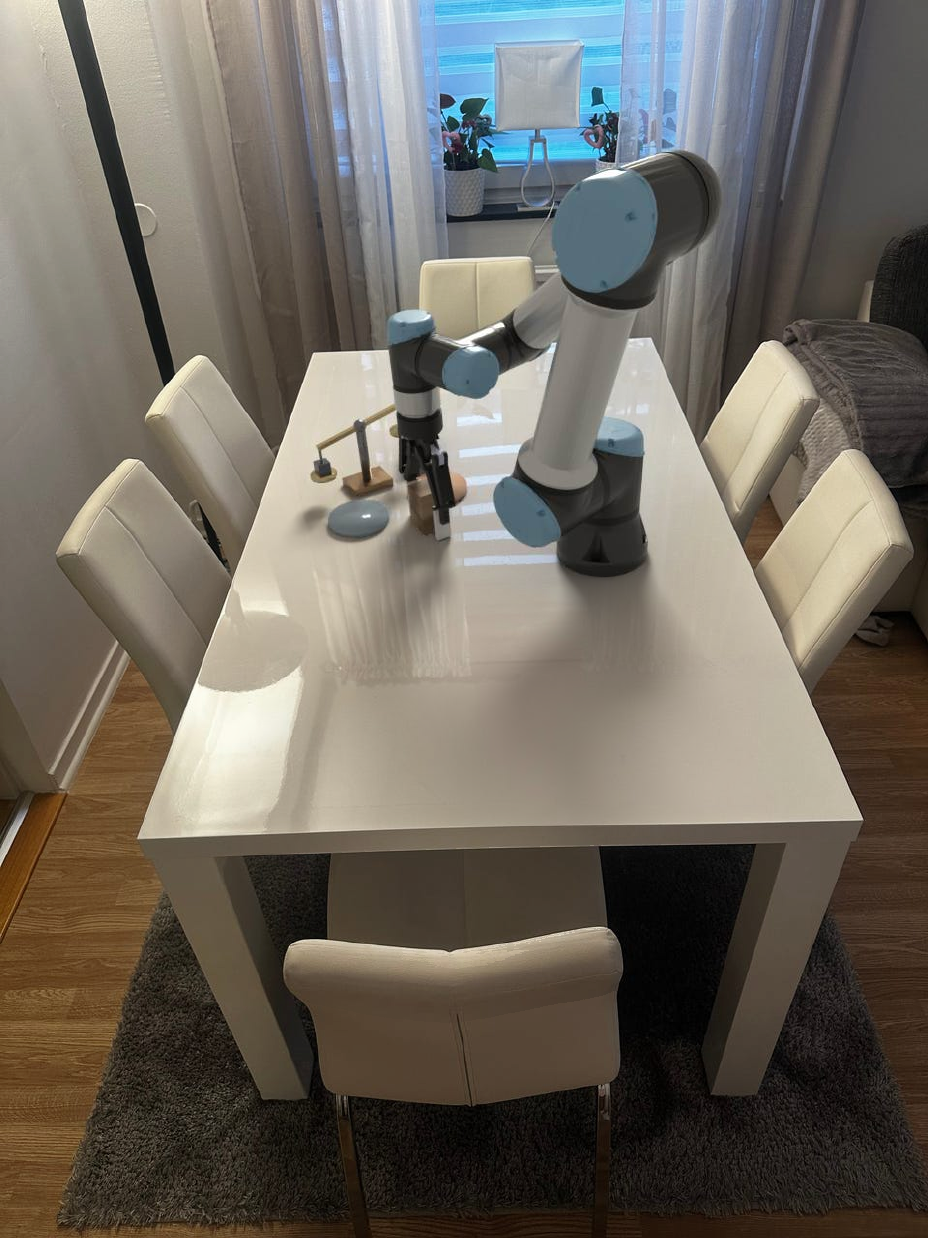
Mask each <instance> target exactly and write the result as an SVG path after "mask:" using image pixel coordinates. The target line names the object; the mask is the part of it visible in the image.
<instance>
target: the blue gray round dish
mask: <svg viewBox="0 0 928 1238" xmlns="http://www.w3.org/2000/svg"><path fill="white" fill-rule="evenodd" d="M327 521H328V526H329V529H330V530H331V532H333V533H334V534H335V535H338V536H340V537H343V538H344V537H345V538H350V539H351V538H364V537H367V536H371V535H374V534H376V533H379V532H380V531H382V530H383V529H384V528H385V527H386V526H387V525H388V524H389V521H390V512H389V509H388V507H387V506H386V505H385V504H384V503H382V502H379V501H377V500H374V499H373V500H372V499H356V500H351V501H346V502H344V503H341V504H339V505H338V506H336V507H335V508H333V509H332V510H331V511H330V512H329V515H328V517H327Z"/></svg>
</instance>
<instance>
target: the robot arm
mask: <svg viewBox="0 0 928 1238" xmlns="http://www.w3.org/2000/svg"><path fill="white" fill-rule="evenodd" d="M722 189H723V188H722V184H721V181H720V178H719V176H718V174H717V172H716V171H715V169H714V168H713V167H712V165H711V164H710V163H709V162H708V161H707V160H706V159H705V158H703V157H702V156H699V155H698V154H696V153H695V152H691V151H688V150H684V149H671V150H664V151H660V152H658V153H655V154H653V155H650V156H647V157H644V158H641V159H638V160H636V161H632V162H630V163H627V164H625V165H622V166H621V165H620V166H613V167H612V166H611V167H607V168H604V169H601V170H599V171H597V172H595V173H593V174H591V175H590V176H589V177H587V178H585V179H582V180H581V181H579V182H577V183H576V184H575V185H573V186H572V187H571V188H570V189H569V190H568V191H567V192H566V194H565V196H563V198H562V199H561V201H560V203H559V205H558V207H557V209H556V211H555V214H554V217H553V221H552V227H551V237H550V238H551V241H550V242H551V243H550V244H551V250H552V252H555V253H556V256H557V257H555V258H554V261H555V264H556V266H557V268H558V271H557V272H555V273H554V274H552V276H551V277H550V278H549V279H547V280H546V281H545V282H544V283H542V284H541V285H540V286H539V287H538V288H537V289H536V290H535V291H533V292H532V293H531V294H530V295H529V296H527V297H526V298H525V299H524V300H523V301H522V302H521V303H520V304H518V305H517V306H516V307H515V308H514V309H513V310H512V311H511V312H509V313H508V314H507V315H506V316H505V317H503V318H502V319H500V320H498V321H496V322H493V323H491V324H490V325H486V326H484V327H482V328H480V329H476V330H475V331H472V332H471V333H468V334H466V335H463V336H460V337H458V338H453V337H450V336H448V335H444V334H442V333H439V332H437V331H436V329H437V326H436V323H435V318H434V317H433V315H432V314H431V312H429V311H427V310H423V309H406V310H401V311H399V312H396V313H394V314H392V315H391V316H390V317H389V318H388V320H387V322H386V333H387V334H386V337H387V342H386V346H387V347H388V348H387V349H388V356H389V365H390V373H391V379H392V391H393V402H394V404H395V409H396V413H395V414H396V415H395V417H396V423H397V425H398V428H397V430H398V436H399V438H398V472H399V474H401V475H402V474H403V479H404V481H405V482H406V492H407V493H406V494H407V500H408V501H407V502H408V509H409V515H411V512H410V504H409V495H408V486H407V485H410V484H413V483H416V482H419V481H422V480H421V479H420V478H419V479H416V478H417V477H420V476H422V472H424V473H425V474H426V477H427V480H428V483H429V487H430V490H431V493H432V496H433V500H434V503H435V506H433V507H432V510H433V514H434V525H435V533H434V534H435V540H436V541H440V540H443V539H446V538H449V537H452V527H451V515H450V509H453V508H456V507H457V503H456V502H457V501H456V502H455V497H454V492H453V487H452V482H451V477H450V472H451V471H450V467H449V455H448V452H447V451H446V450H444V451H441V450H440V451H439V450H438V449H439V447H440V446H439V447H438V444H439V443H438V444H437V442H438V440H437V441H436V437H437V435H438V436H439V434H440V433H441V432H442V431H443V428H444V423H443V410H442V407H441V404H442V403H441V401H442V400H441V390H440V389H442V390H445V391H448V392H450V393H451V394H453V395H455V396H457V397H464V398H467V399H472V400H478V399H479V400H480V399H483V398H485V397H486V396H488V395H489V394H490V391H491V390H492V389H494V388H495V386H496V384H497V382H498V379H499V376H501V375H503V374H504V373H506V372H508V371H510V370H513V369H515V368H517V367H520V366H521V365H524V364H526V363H528V362H529V363H530V362H532V361H535V360H536V359H538V358H539V357H541V356H542V355H543V354H545V353H547V352H549V349H550V348H551V346H552V343H553V342H555V341H556V344H555V349H554V352H553V355H552V356H553V357H552V360H551V364H550V368H549V372H548V376H547V380H546V384H545V388H544V393H543V397H542V401H541V405H540V408H539V413H538V417H537V421H536V424H535V429H534V433H533V436H532V437H530V438H528V439H526V440H524V442H523V443H522V444H521V445H520V448H519V449H518V452H517V457H516V460H515V461H516V462H515V465H514V468H513V471H512V473H511V474H510V475H509V476H504V477H502V478H501V480H500V481H499V482H498V483H497V484H496V486H495V487H494V490H493V494H492V495H493V496H492V499H493V506H494V510H495V513H496V515H497V517H498V518H499V521H500V522H501V524H502V526H503V527H504V528H505V530H506V531H507V532H508V533H509V534H510V536H512V537H513V538H514V539H515V540H516V541H518V542H519V543H520V544H523V545H525V546H527V547H530V548H535V549H536V548H543V547H547V546H548V545H550V544H552V543H556V556H557V558H558V560H559V561H560V562H561V563H562V564H563V565H564V566H565V567H567V568H569V569H570V570H572V571H574V572H576V573H579V574H583V575H587V576H592V577H593V576H595V577H613V576H614V577H615V576H620V575H624V574H626V573H629V572H631V571H634V570H635V569H637V568H638V567H639V566H641V565H643V563H644V562H645V560H646V559H647V555H648V547H649V546H648V545H649V540H648V539H649V538H648V535H647V533H646V530H645V526H644V522H643V520H642V517H641V513H640V507H641V506H640V504H641V496H642V495H641V493H642V480H643V468H644V467H643V465H644V456H645V454H646V452H645V451H646V450H645V447H644V446H645V440H644V439H645V437H644V434H643V432H642V431H641V429H640V428H639V427H638V426H637V425H635V424H634V423H632V422H630V421H627V420H624V419H622V418H621V419H620V418H616V417H610V416H605V413H606V410H607V407H608V404H609V402H610V401H609V400H610V397H611V394H612V391H613V388H614V385H615V381H616V379H617V376H618V373H619V369H620V366H621V362H622V360H623V356H624V354H625V350H626V347H627V345H628V342H629V338H630V335H631V331H632V328H633V326H634V323H635V319H636V316H637V314H638V312H639V311H642V310H644V309H646V308H648V307H650V306H651V305H652V304H653V302H654V301H655V298H656V296H657V292H658V290H659V287H660V283H661V280H662V277H663V274H664V272H665V268H666V267H668V266H669V265H670V264H672V263H673V262H675V261H676V260H677V259H679V258H681V257H683V256H685V255H687V254H689V253H691V252H692V251H694V250H696V249H697V248H699V247H700V246H701V245H702V244H704V243H705V242H706V241H707V240H708V239H709V238H710V236H712V234H713V233H714V231H715V229H716V227H717V225H718V223H719V220H720V218H721V214H722V209H723V201H724V200H723V190H722ZM429 463H430V464H429ZM421 471H422V472H421Z"/></svg>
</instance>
